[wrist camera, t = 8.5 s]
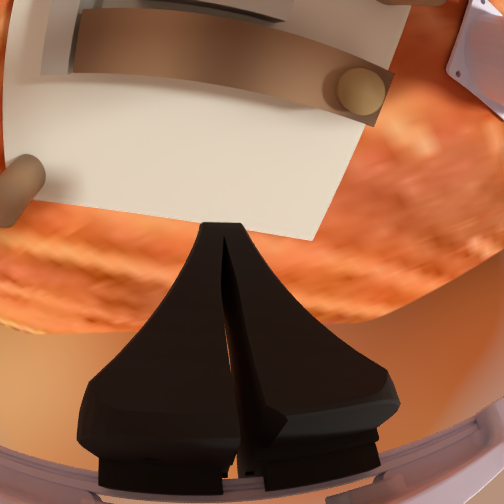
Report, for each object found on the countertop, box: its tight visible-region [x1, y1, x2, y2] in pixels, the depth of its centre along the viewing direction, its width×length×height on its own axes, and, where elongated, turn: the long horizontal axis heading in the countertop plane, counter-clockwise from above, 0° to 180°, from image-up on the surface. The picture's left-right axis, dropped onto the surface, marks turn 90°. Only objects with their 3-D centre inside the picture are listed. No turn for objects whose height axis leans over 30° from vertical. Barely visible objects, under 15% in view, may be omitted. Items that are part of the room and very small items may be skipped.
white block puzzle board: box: [0, 0, 447, 241], centre depth 12 cm, size 22×20×6 cm
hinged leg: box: [73, 8, 394, 127], centre depth 12 cm, size 14×3×4 cm, turn 76°
